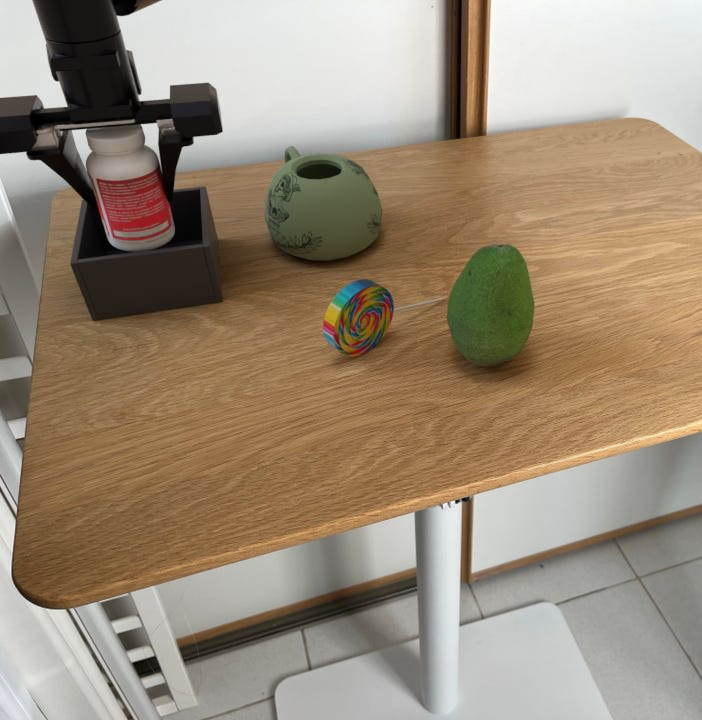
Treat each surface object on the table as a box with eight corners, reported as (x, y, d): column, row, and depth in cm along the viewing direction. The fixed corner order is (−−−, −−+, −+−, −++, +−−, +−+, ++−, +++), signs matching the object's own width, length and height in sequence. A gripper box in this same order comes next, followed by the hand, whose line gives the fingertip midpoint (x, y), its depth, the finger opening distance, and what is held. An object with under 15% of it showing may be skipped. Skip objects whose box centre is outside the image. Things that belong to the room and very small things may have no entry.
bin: (92, 320, 72) (69, 263, 68) (101, 253, 81) (81, 199, 77) (222, 301, 75) (209, 245, 71) (218, 239, 84) (205, 185, 80)
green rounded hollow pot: (404, 248, 84) (401, 177, 78) (296, 282, 78) (284, 208, 72) (342, 188, 94) (335, 122, 88) (242, 215, 88) (228, 145, 82)
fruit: (547, 358, 70) (561, 249, 62) (487, 397, 66) (492, 285, 58) (489, 319, 74) (495, 213, 66) (429, 353, 70) (427, 244, 62)
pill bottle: (189, 236, 74) (165, 129, 67) (133, 261, 70) (102, 150, 63) (151, 215, 76) (124, 109, 69) (95, 238, 72) (61, 128, 65)
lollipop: (441, 332, 78) (328, 364, 67) (432, 326, 78) (317, 356, 67) (456, 269, 74) (339, 292, 63) (446, 263, 75) (329, 285, 64)
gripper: (200, -1, 69) (231, 157, 79) (-27, 9, 64) (37, 176, 74) (203, 37, 61) (238, 208, 71) (-56, 52, 56) (20, 232, 66)
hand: (134, 204), depth 71 cm, fingers closed on pill bottle, 6 cm apart
